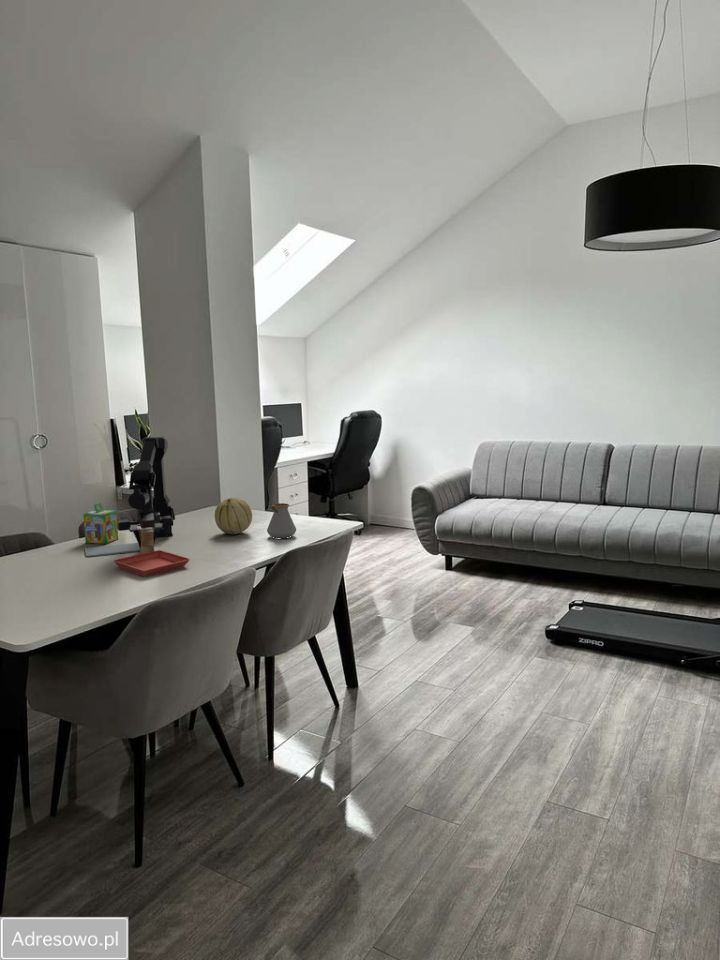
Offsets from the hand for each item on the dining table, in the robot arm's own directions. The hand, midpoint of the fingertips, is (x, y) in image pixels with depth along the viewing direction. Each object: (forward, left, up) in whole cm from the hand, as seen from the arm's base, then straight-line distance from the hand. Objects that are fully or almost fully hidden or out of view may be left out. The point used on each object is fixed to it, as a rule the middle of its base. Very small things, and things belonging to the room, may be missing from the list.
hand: (146, 546), depth 253 cm
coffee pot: (-49, +1, -3) cm, 49 cm away
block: (0, 0, -2) cm, 2 cm away
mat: (+10, -10, -2) cm, 14 cm away
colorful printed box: (+13, -27, -3) cm, 30 cm away
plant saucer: (+1, +20, -3) cm, 20 cm away
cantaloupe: (-36, -17, -3) cm, 40 cm away
